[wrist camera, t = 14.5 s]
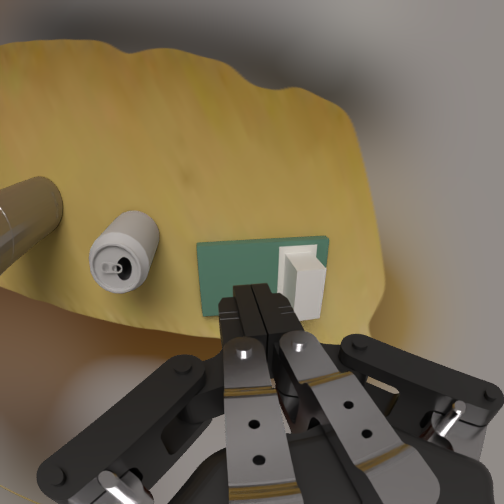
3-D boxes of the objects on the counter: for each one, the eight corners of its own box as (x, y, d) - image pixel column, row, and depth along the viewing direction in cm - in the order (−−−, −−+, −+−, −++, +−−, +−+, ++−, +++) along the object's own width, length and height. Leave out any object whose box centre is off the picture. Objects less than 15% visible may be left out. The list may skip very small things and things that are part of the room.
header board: (202, 311, 46) (203, 327, 42) (196, 242, 42) (196, 254, 38) (317, 300, 49) (327, 314, 45) (325, 235, 45) (337, 246, 41)
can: (156, 261, 42) (144, 304, 31) (110, 252, 40) (84, 292, 29) (163, 213, 39) (150, 244, 28) (114, 205, 37) (84, 232, 26)
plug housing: (284, 253, 43) (297, 271, 37) (311, 251, 44) (326, 268, 38) (282, 300, 46) (292, 321, 41) (306, 297, 47) (319, 318, 41)
